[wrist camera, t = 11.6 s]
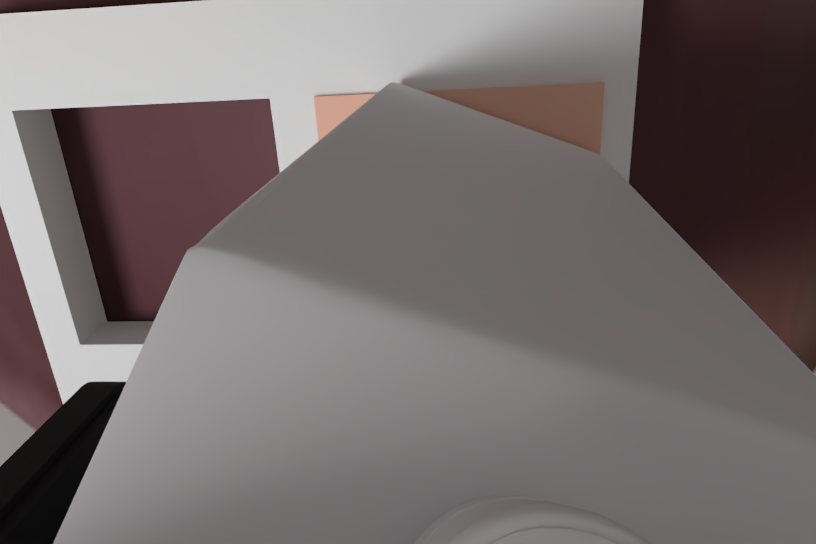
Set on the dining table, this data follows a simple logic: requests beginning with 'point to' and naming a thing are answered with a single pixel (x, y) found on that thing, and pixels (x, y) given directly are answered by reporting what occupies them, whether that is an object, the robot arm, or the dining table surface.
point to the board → (279, 104)
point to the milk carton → (452, 362)
